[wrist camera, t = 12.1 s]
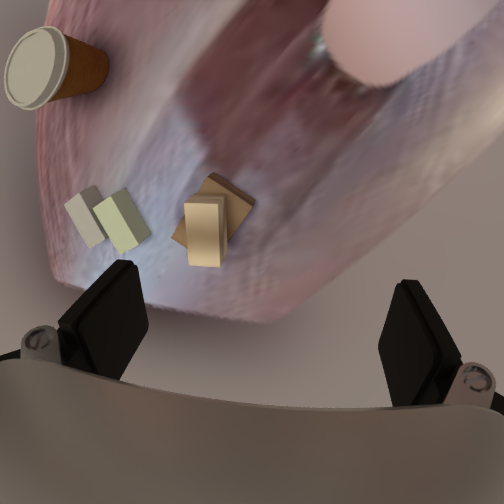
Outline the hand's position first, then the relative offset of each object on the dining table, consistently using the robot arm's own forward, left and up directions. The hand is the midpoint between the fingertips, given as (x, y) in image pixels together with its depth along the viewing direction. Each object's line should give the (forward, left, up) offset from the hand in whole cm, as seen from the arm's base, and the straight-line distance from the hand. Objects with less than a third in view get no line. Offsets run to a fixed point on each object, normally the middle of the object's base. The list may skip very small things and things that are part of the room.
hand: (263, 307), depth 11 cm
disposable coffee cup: (-14, -25, -26) cm, 39 cm away
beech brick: (+6, -8, -24) cm, 26 cm away
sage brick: (+6, -20, -26) cm, 34 cm away
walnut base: (+6, -8, -27) cm, 29 cm away
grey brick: (+6, -25, -26) cm, 37 cm away
